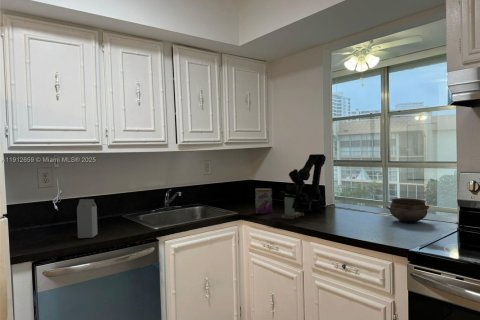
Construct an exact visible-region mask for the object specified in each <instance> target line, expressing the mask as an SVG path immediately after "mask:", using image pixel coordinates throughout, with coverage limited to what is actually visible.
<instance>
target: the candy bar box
mask: <svg viewBox="0 0 480 320" xmlns="http://www.w3.org/2000/svg"><path fill="white" fill-rule="evenodd" d="M254 202H255V203H254V211H255V212H254V214H255V215H258V214H259V215H265V214H267V213H269V214H270V213H271V214H272V213H273V189H272V188H255V190H254Z"/></svg>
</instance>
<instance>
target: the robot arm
mask: <svg viewBox="0 0 480 320" xmlns="http://www.w3.org/2000/svg"><path fill="white" fill-rule="evenodd" d="M326 159H327V157H326V155H324V153H322V154H321V153H317V154H316V153H315V154H314V153H313V154H312V153H311V154H309V155H308V159H307V160H306V162H305V164H304V165H303V167H302V168H301V169H299V170H298V169H296V168H295V169H293V170H292V171H290V172H289V173H288V176H289V178H290V180H291V182H292V183H293V184H288V183H287V184H286V185H285V186H286V188H285V190H286V191H287V192H286V191H282V190H281V191H279V193H278V196H279V197H280V200H283V208H284V209H285V197H290V198H294V203H293V206H292V209H293V208H294V209H295V208H296V207H297V206H299V205H300V204H303V203H309V210H310V211H311V212H322V209H321V205H322V204H321V203H322V202H323V200H324V198H323V195H322V194H321V190H320V180H321V173H322V167H323V166H324V165H325V163H326ZM312 169H313V174H312V181H311V185H310V187H309V188H307V193H305V192H303V191H302V190H303V188H305V187H306V183H305V181H308V180H309V179H310V177H311V173H310V172H311V170H312Z"/></svg>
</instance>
